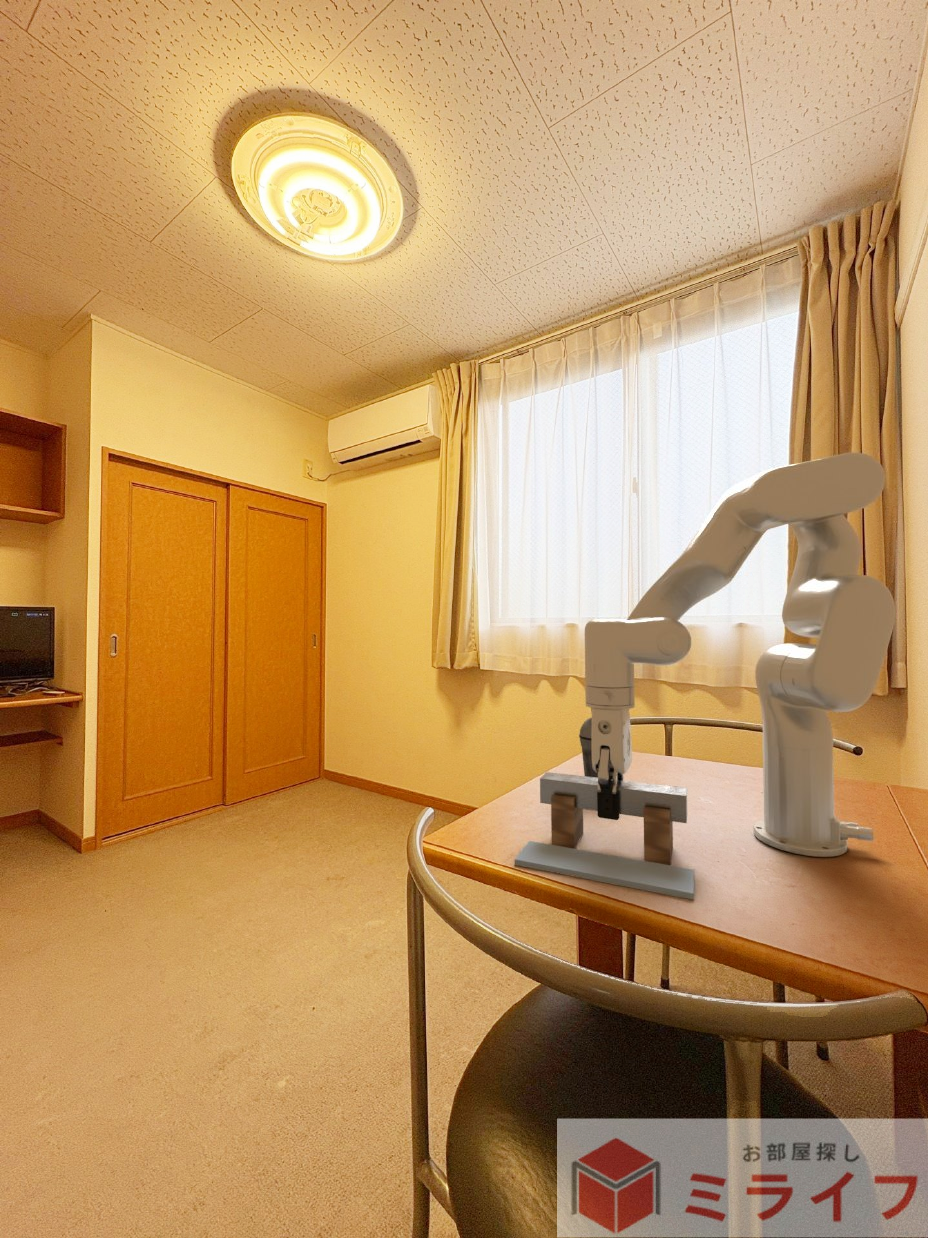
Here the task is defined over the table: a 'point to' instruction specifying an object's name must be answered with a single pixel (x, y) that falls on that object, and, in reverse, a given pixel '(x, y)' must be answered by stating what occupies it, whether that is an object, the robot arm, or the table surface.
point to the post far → (565, 821)
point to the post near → (658, 835)
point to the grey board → (609, 869)
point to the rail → (630, 793)
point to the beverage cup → (587, 748)
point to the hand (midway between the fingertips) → (611, 811)
